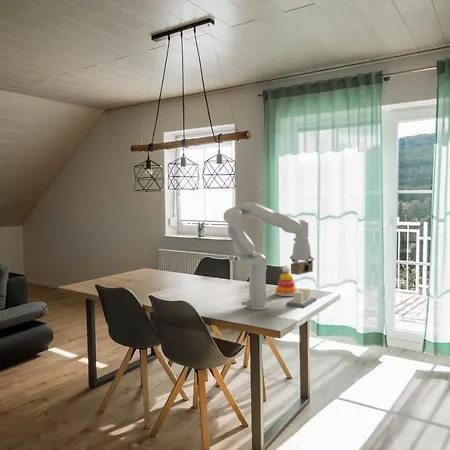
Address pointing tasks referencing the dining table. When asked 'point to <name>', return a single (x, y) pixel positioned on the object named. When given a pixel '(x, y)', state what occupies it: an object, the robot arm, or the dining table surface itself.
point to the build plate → (301, 298)
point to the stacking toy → (285, 283)
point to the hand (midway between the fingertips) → (301, 270)
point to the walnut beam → (300, 268)
